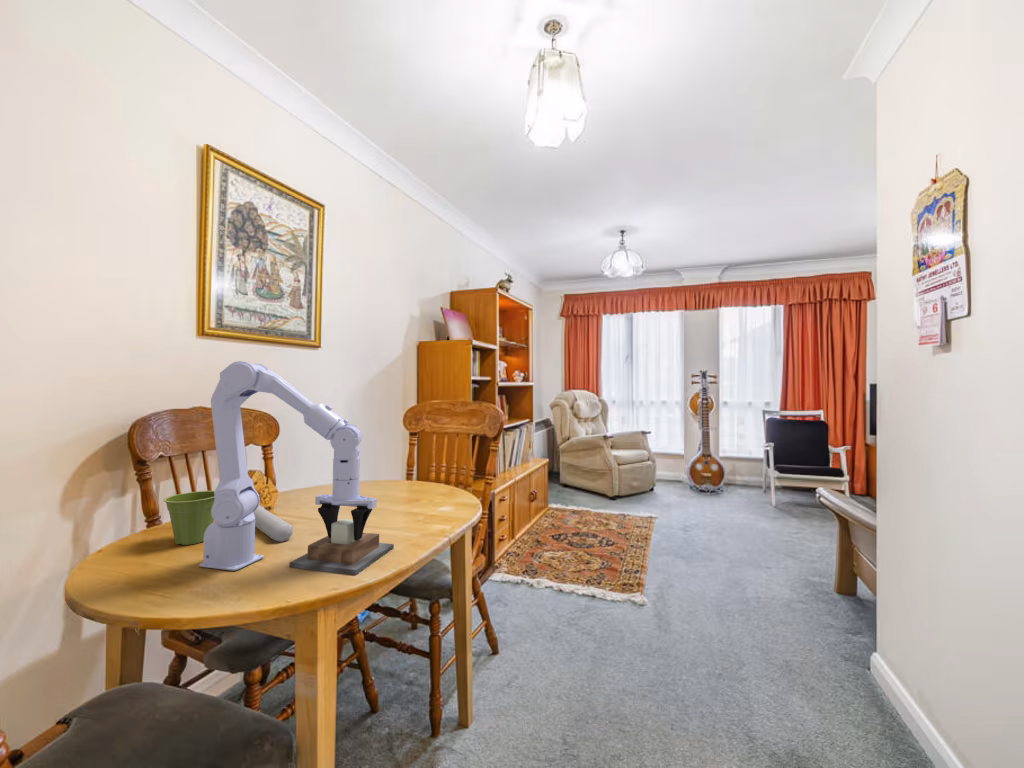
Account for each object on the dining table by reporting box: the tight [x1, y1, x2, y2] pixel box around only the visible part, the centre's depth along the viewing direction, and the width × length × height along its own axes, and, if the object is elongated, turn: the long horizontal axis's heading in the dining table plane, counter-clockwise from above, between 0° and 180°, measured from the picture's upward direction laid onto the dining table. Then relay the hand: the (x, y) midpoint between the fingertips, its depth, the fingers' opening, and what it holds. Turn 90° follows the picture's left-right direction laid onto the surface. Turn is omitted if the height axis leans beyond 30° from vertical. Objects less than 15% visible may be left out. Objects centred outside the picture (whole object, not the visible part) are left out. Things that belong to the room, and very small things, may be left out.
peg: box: [331, 518, 356, 545], centre depth 100 cm, size 4×4×7 cm
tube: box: [254, 504, 293, 543], centre depth 118 cm, size 5×5×25 cm
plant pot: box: [163, 490, 215, 546], centre depth 110 cm, size 12×12×11 cm
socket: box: [289, 532, 395, 576], centre depth 100 cm, size 16×16×4 cm
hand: (345, 537), depth 100 cm, fingers open, 6 cm apart
